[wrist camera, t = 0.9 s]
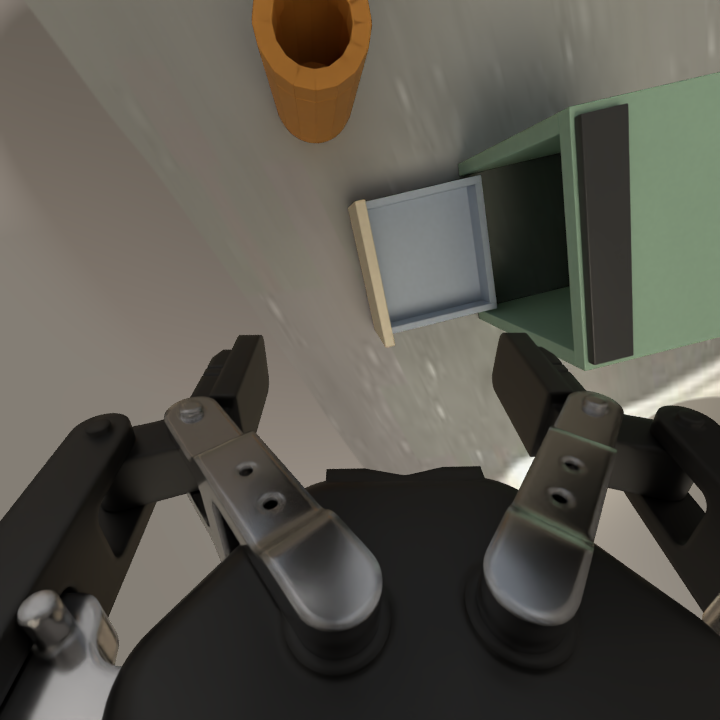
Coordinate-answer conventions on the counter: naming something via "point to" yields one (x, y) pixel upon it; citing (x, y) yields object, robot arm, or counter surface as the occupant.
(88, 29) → the counter surface
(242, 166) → the counter surface
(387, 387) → the counter surface
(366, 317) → the counter surface
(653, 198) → the green open box
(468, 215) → the beige drawer
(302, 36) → the jar
